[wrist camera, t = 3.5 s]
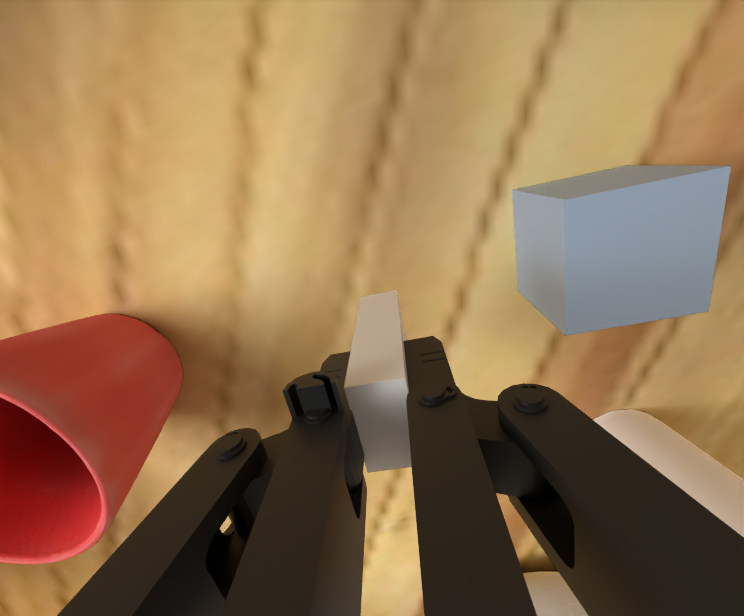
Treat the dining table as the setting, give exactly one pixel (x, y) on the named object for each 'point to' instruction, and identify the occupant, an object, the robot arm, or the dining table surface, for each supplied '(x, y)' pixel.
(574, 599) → the serving bowl
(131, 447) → the flower pot
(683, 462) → the foam cup
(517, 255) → the slate-blue block
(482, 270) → the dining table surface
